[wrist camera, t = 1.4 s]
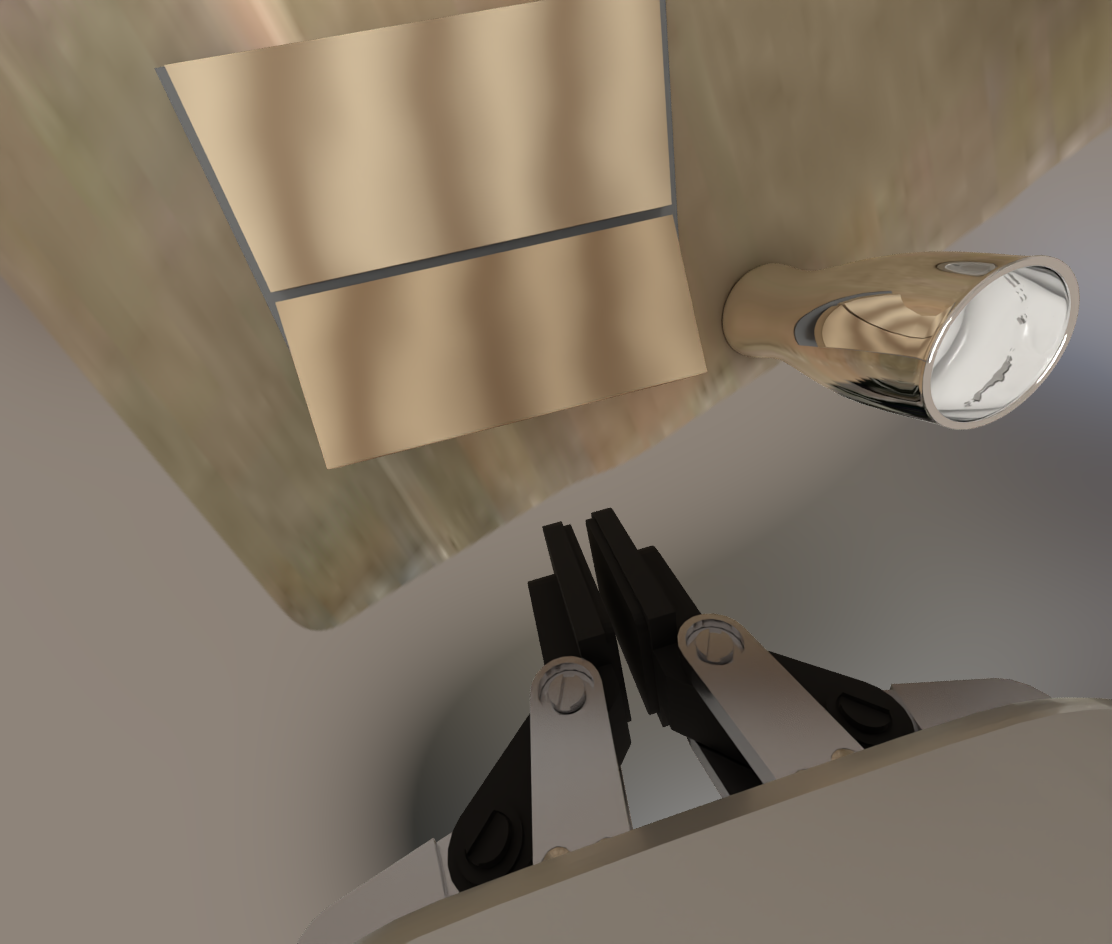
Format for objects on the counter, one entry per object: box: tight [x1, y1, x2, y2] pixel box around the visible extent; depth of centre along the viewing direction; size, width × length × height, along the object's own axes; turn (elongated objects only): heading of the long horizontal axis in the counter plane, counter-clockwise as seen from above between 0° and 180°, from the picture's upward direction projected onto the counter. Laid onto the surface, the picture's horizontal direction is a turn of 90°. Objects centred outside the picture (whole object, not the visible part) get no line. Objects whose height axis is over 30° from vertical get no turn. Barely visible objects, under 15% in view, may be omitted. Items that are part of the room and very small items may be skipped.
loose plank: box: [275, 214, 707, 469], centre depth 25 cm, size 22×9×2 cm, turn 102°
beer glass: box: [722, 251, 1080, 430], centre depth 23 cm, size 7×7×15 cm
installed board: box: [164, 0, 672, 292], centre depth 22 cm, size 22×9×2 cm, turn 102°
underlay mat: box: [155, 0, 679, 355], centre depth 25 cm, size 24×20×1 cm
